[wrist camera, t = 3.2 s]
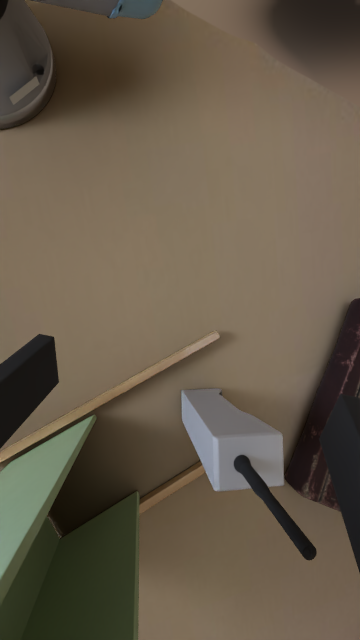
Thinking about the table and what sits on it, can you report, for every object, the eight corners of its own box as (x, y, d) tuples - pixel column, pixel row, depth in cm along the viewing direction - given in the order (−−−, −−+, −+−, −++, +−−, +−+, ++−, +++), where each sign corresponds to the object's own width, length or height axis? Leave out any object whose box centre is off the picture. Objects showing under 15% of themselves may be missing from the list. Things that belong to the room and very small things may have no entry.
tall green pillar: (10, 462, 33) (-653, 1119, 5) (94, 413, 34) (-92, 741, 7) (57, 546, 33) (-341, 1571, 6) (139, 495, 35) (134, 1118, 7)
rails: (-10, 456, 33) (-16, 461, 32) (214, 330, 37) (216, 330, 36) (51, 564, 34) (48, 572, 32) (266, 428, 38) (270, 431, 36)
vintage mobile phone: (220, 417, 37) (381, 592, 12) (181, 419, 36) (268, 610, 11) (219, 387, 37) (378, 501, 12) (180, 389, 36) (265, 513, 12)
